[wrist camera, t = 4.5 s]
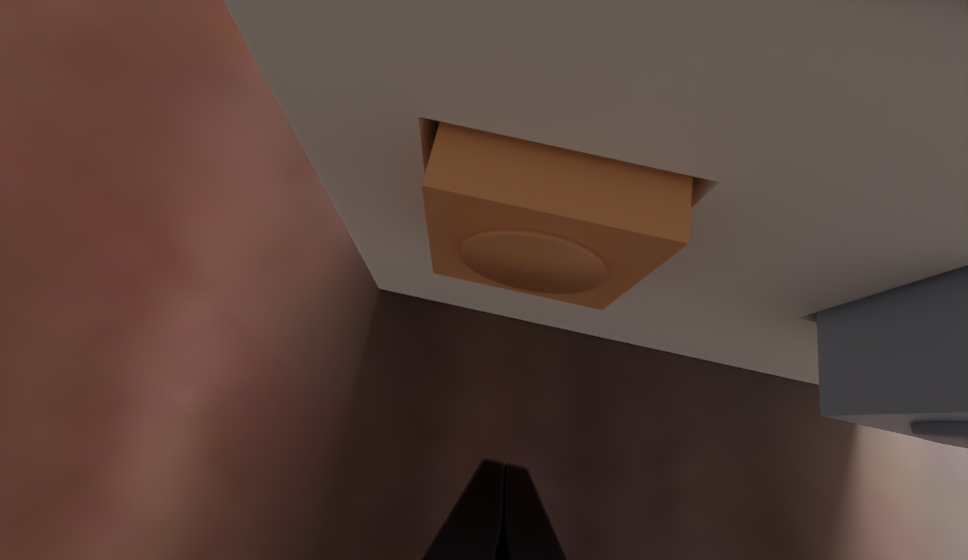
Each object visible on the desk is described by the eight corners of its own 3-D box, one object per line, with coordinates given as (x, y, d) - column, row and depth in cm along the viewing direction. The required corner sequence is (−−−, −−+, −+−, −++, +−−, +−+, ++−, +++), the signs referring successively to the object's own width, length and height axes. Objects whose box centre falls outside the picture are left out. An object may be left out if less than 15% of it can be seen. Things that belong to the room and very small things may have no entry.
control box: (866, 400, 18) (2879, 278, 3) (373, 292, 18) (-15, -348, 3) (854, 216, 21) (1909, -332, 6) (424, 122, 21) (347, -666, 6)
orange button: (601, 315, 11) (687, 251, 7) (431, 278, 11) (419, 193, 7) (619, 178, 13) (701, 56, 8) (466, 145, 13) (472, 7, 8)
